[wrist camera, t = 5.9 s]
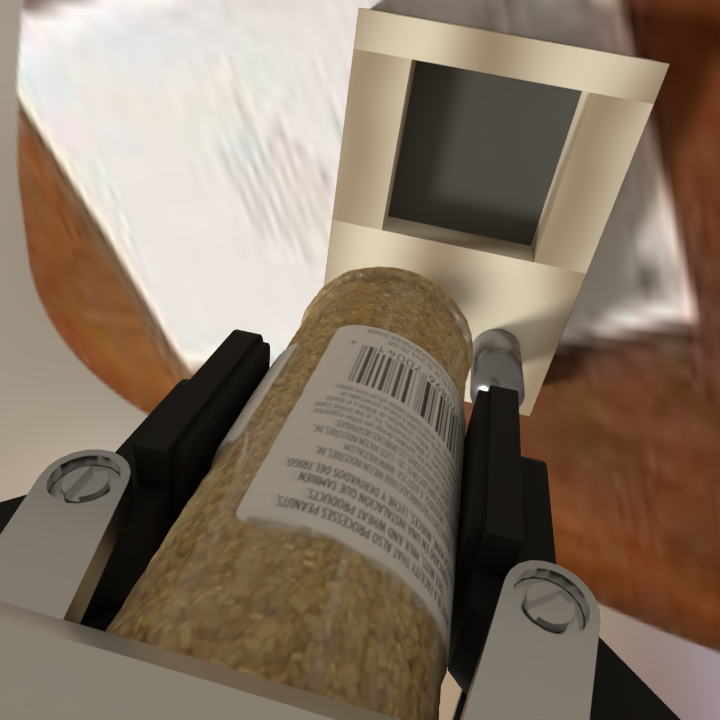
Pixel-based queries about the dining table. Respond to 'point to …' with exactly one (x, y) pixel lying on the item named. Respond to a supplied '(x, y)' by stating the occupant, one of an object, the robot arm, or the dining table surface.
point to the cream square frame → (486, 175)
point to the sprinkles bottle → (330, 508)
